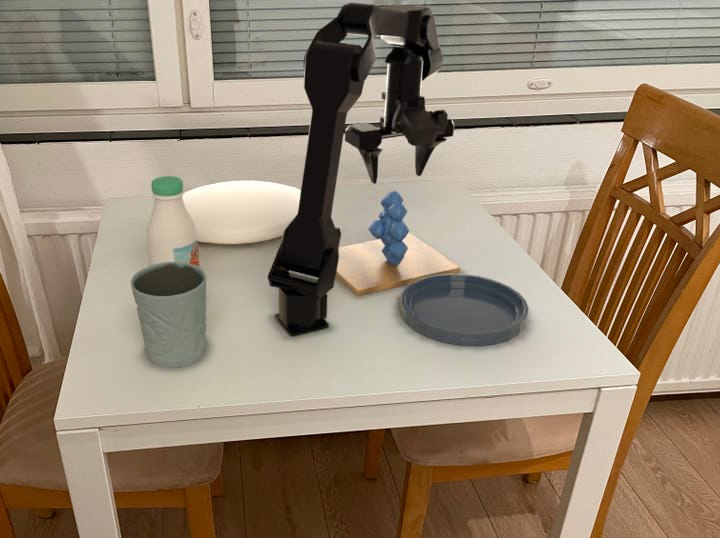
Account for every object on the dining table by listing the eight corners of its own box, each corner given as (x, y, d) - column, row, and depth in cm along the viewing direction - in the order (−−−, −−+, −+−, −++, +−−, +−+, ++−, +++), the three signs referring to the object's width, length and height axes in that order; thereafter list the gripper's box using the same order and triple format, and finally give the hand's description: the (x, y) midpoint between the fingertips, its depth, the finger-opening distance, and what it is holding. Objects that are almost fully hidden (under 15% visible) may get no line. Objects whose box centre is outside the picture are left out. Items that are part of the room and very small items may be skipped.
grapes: (360, 246, 136) (363, 182, 129) (396, 245, 137) (402, 181, 130) (373, 276, 126) (377, 208, 120) (412, 273, 127) (419, 206, 120)
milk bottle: (161, 315, 117) (148, 193, 106) (148, 294, 123) (134, 175, 112) (208, 305, 120) (200, 185, 109) (193, 285, 126) (184, 168, 115)
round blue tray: (445, 358, 107) (447, 345, 106) (377, 299, 122) (378, 287, 120) (552, 329, 114) (555, 316, 112) (475, 276, 128) (477, 264, 127)
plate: (147, 226, 134) (180, 176, 156) (155, 259, 138) (185, 205, 160) (303, 216, 130) (314, 166, 153) (306, 251, 134) (316, 197, 156)
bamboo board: (357, 296, 123) (357, 290, 122) (314, 257, 135) (314, 252, 134) (459, 272, 129) (460, 267, 129) (409, 237, 142) (410, 232, 141)
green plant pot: (213, 333, 113) (208, 261, 106) (209, 371, 104) (203, 295, 98) (145, 334, 113) (136, 262, 106) (135, 372, 104) (125, 296, 98)
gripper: (379, 106, 116) (373, 203, 124) (479, 93, 122) (466, 186, 131) (345, 90, 124) (341, 181, 133) (440, 78, 131) (431, 166, 139)
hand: (396, 179), depth 134 cm, fingers open, 9 cm apart
